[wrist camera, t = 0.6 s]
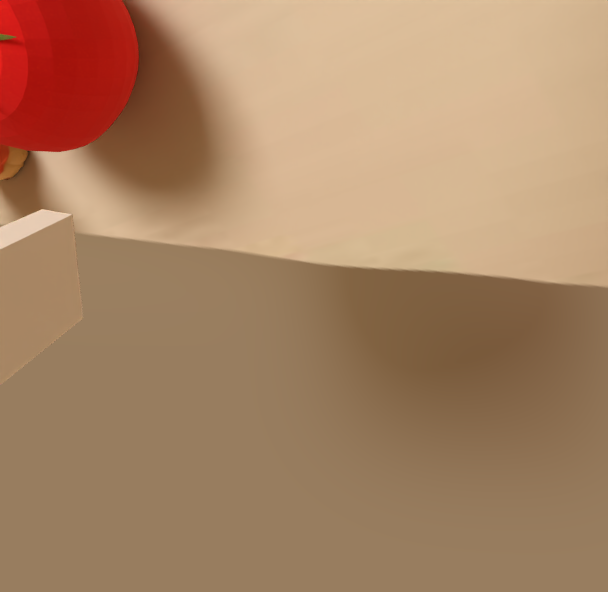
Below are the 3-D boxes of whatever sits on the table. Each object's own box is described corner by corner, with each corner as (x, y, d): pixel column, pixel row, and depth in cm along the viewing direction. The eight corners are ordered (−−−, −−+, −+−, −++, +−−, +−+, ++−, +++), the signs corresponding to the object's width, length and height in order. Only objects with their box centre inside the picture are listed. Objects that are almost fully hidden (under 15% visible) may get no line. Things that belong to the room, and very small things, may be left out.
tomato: (182, 135, 37) (64, 176, 25) (46, 139, 40) (-126, 178, 27) (152, -73, 32) (-18, -155, 20) (-3, -55, 34) (-245, -118, 22)
